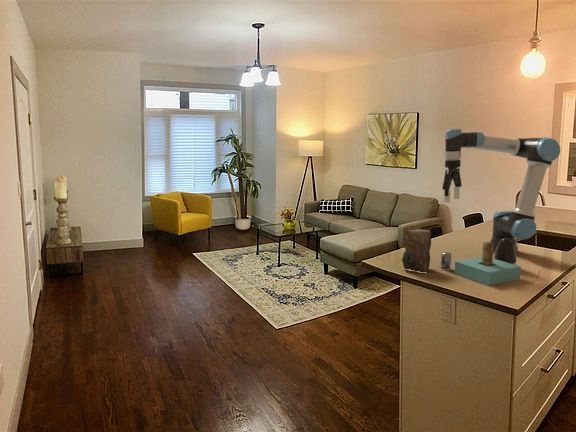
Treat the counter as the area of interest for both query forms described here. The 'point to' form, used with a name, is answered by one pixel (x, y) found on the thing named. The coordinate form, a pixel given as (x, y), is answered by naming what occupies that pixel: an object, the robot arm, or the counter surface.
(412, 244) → the rough brown stone
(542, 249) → the counter surface
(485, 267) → the socket block
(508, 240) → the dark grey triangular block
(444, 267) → the short steel pin
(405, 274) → the counter surface
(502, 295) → the counter surface
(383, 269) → the counter surface
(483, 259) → the long walnut pin
